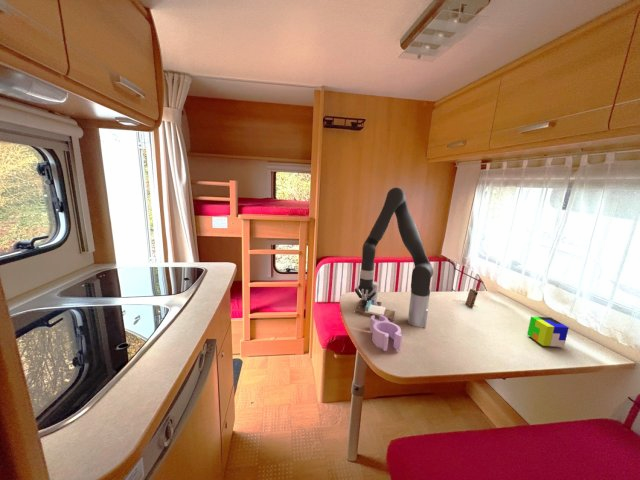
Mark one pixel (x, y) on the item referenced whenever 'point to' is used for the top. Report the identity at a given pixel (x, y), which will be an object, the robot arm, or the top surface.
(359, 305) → the tan flat frame
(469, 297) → the walkie talkie
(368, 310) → the slide cover
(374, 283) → the beverage can
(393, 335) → the clip
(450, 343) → the top surface
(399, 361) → the top surface
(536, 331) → the puzzle toy
